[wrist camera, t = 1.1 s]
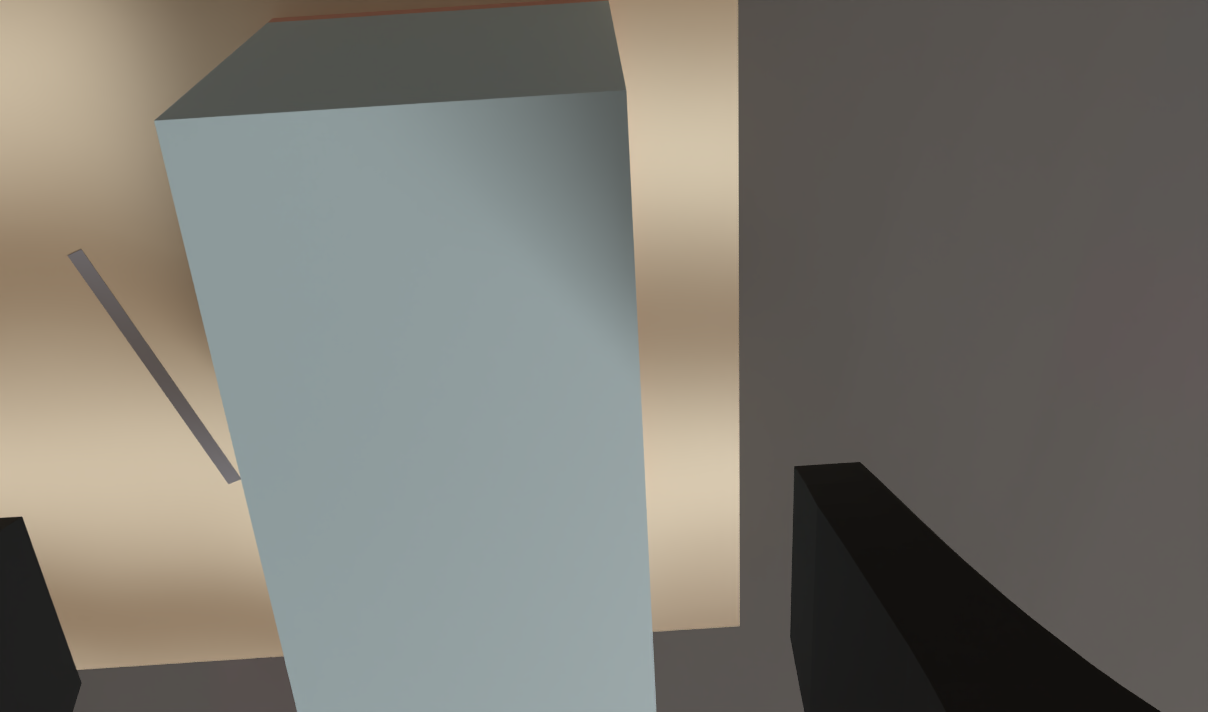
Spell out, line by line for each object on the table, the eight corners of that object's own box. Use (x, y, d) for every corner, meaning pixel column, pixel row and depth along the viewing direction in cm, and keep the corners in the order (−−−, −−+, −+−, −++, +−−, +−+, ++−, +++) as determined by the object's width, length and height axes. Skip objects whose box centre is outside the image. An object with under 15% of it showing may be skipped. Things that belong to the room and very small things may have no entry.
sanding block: (634, 492, 19) (656, 713, 15) (363, 509, 19) (303, 738, 15) (607, -4, 15) (626, 90, 11) (271, 18, 15) (153, 120, 11)
